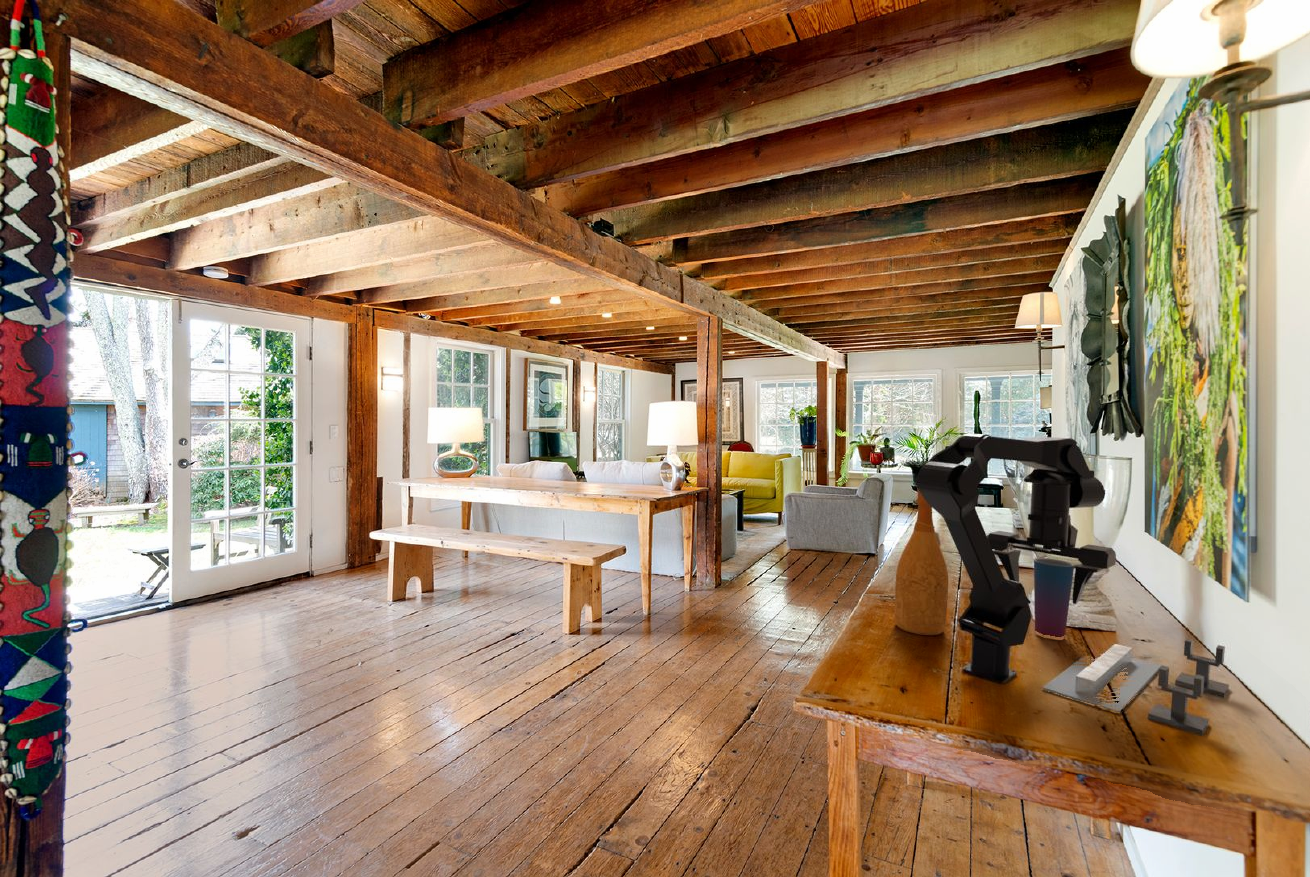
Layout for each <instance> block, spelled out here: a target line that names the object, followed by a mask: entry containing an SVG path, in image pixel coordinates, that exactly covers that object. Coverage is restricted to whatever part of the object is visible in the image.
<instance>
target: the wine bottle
mask: <svg viewBox="0 0 1310 877" xmlns="http://www.w3.org/2000/svg"><path fill="white" fill-rule="evenodd" d="M916 489H917V497H916V504H917V505H918V506H917V516H916V521H915V523H914V527H913V532H912V534H911V536H910V538H909V540H907V543H906V545H905V547H904V549H903V550H902V552H901V554H900V558H899V560H898V564H897V566H896V567H897V568H896V571H895V572H896V573H895V586H894V622H895V625H896V626H897V627H898V628H900V629H901V630H903V631H906V632H908V633H912V634H915V635H921V636H937V635H941V634H942V633H943V632H944V631H945V629H946V621H947V614H948V613H947V611H948V600H949V599H948V597H949V596H948V595H949V572H948V567H947V564H946V560H945V556H944V553H943V551H942V549H941V546H942V544H941V538H940V534H939V532H938V531H935V526H934V522H933V508H932V507H931V506H930V505H929V504H928V503H927V502H926V500H925V499H924V497H923V496H922V494H921V493H920V491H919V490H918V488H917V487H916Z"/></svg>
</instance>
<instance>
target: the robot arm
mask: <svg viewBox="0 0 1310 877" xmlns="http://www.w3.org/2000/svg"><path fill="white" fill-rule="evenodd" d="M1077 444H1078V442H1077V441H1076V440H1075V439H1074V438H1069V437H1068V438H1067V437H1051V436H1048V437H1047V436H1034V437H1027V438H1024V439H1015V438H1009V437H999V436H992V435H990V434H986V433H985V434H981V433H964V434H961V435H960V436H959V437H957V439H956V440H955V441H954V442H953V443H952V444H950V445H948V446H947V447H945V448H944V449H942V450H941V451H938V452H936V453H935V454H934V455H932V457H930V459H929V460H928V461H927V462H926V463H924V464H923V465H922V466H921V468H920V469H919V471H918V473H917V476H916V479H915V482H916V484H915V485H916V489H917V488H918V490H919V491H920V493H921V494H922V496H923V497H924V499H925V500H926V502H927V503H928V504H929V505H930V506H931V507H932V510H934V511H936V512H937V513H938V514H939V515H940V516H941V517H942V518H943V520H944V522H945V525H946V527H947V529H948V531H949V533H950V536H951V538H952V540H953V544H954V545H955V548H956V550H957V552H958V554H959V556H960V558H961V559H960V560H961V561H962V564H963V566H964V568H965V571H966V573H967V575H968V576H969V579H970V581H971V583H972V588H971V590H970V593H969V595H968V599H969V605H968V606H967V608H966V609H965V610H964V611H963V613H962V614H961V615H960V617H959V618H958V623H959V624H958V626H959V628H960V630H961V631H962V632H966V633H969V634H971V646H970V647H971V649H970V650H971V651H970V652H971V653H970V663H968V664H966V665H965V666H962V669H961V670H962V672H965V673H967V674H970V675H974V676H978V677H979V678H983V679H986V680H989V681H992V682H994V683H999V684H1004V683H1006V682H1008V681H1009V680H1011V679H1012V678H1014V677H1016V675H1017V674H1018V673H1017V671H1016V670H1014V669H1011V668H1010V660H1011V657H1010V656H1011V647H1015V646H1016V647H1017V646H1020V645H1021V646H1022V645H1024V644H1025V641H1026V637H1027V633H1028V630H1029V627H1030V624H1031V619H1032V613H1031V607H1030V605H1029V604H1031V603H1032V602H1031V600H1030V599H1029V597H1028V596H1027V593H1026V590H1025V587H1024V585H1023V584H1022V583H1021V582H1020V562H1019V561H1020V558H1021V556H1020V555H1021V551H1022V550H1023V551H1030V552H1036V553H1043V554H1046V555H1053V556H1059V557H1064V558H1065V557H1066V558H1071V559H1072V558H1073V559H1077V560H1078V562H1080V564H1078V565H1076V566H1075V568H1074V578H1073V579H1074V580H1073V587H1072V588H1073V589H1072V597H1071V598H1072V604H1073V605H1076V604H1078V602H1079V600H1080V599H1081V597H1082V594H1083V592H1084V590H1085V588H1086V586H1087V585H1088V583H1089V580H1090V579H1091V578H1092V576H1093V575H1094V573H1099V572H1101V571H1103V570H1105V569H1106V570H1108V569H1109V568H1111V567H1112V568H1113V566H1116V564H1117V554H1116V551H1115V549H1113V547H1108V546H1100V545H1094V544H1086V545H1082V546H1081V547H1076V545H1077V538H1078V534H1079V533H1078V531H1079V530H1078V529H1077V528H1076V527H1075V526H1074V525H1072V523H1071V522H1072V521H1071V520H1072V519H1071V515H1070V509H1075V508H1077V509H1078V508H1080V509H1081V508H1094V507H1097V506H1099V505H1100V504H1102V503H1103V501H1104V499H1105V497H1106V489H1104V485H1103V483H1102V482H1101V481H1100V480H1099V478H1096V477H1095V470H1093V469H1090V468H1089V466H1088V463H1087V461H1086V459H1085V457H1084V455H1083V452H1082V449H1081V448H1080V446H1078V445H1077ZM967 459H972V460H971V461H970V462H969V463H968V465H964V464H962V463H963V462H965V460H967ZM992 459H994V460H1006V461H1017V462H1019V463H1021V464H1022V465H1024V466H1026V467H1029V468H1032V469H1033V470H1032V471H1031V473H1029V474H1027V475H1026V476H1025V477H1024V479H1023V482H1024V483H1029V484H1030V483H1031V491H1030V492H1031V493H1030V495H1031V496H1030V497H1031V498H1030V512H1029V513H1028V514H1027V520H1028V521H1029V529H1028V530H1029V531H1028V536H1027V537H1026V539H1024V538H1021V537H1020V534H1019V533H1015V532H1010V531H1002V530H998V531H997V530H996V531H993V532H992V531H991V532H990V533H988V534H987V533H986V530H985V529H984V526H983V524H982V522H981V519H980V517H979V515H978V513H977V509H976V506H977V503H978V499H979V497H980V490H979V487H978V486H979V485H980V484H981V482H982V481H983V480H984V479H985V478H986V477H987V474H988V466H989V464H988V463H989V462H990V460H992ZM918 490H917V491H918ZM1041 546H1042V547H1041ZM996 556H997V557H998V559H999V561H1000V563H1001V565H1002V566H1003V568H1004V570H1005V573H1006V575H1007V577H1008V578H1005V575H1004V573H1003V571H1002V568H1001V567H1000V565H999V562H998V560H997V557H996ZM984 623H985V624H988V625H990V626H992V627H995V628H999V629H1001V630H998V629H995V628H992V627H989V626H987V625H985V624H984Z"/></svg>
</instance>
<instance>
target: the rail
mask: <svg viewBox="0 0 1310 877" xmlns="http://www.w3.org/2000/svg"><path fill="white" fill-rule="evenodd" d="M1105 651H1106V652H1105V653H1103V654H1102V655H1101V656H1100V657H1098V658H1097V659H1096V660H1095V661H1094V662H1092V663H1091V664H1090V665H1089V666H1087V667H1086V668H1085V669H1084V670H1082V671H1081V672H1080V673H1079V674H1078V675H1076V682H1075V692H1078V693H1081V694H1085V695H1088V696H1091V697H1095V696H1096V695H1097V694H1098V693H1099V692H1100V691H1101V690H1102V689H1103V688H1104V687H1105V686H1106V685H1107V684H1108V683H1109V682H1110V681H1111V680H1113V678H1114V677H1115V676H1117V675H1118V673H1120V672H1121V671H1122V670H1123V669H1124V668H1125V667H1127V666H1128V665H1129V664H1130V663H1131V662H1132V658H1133V647H1131V646H1130V647H1129V646H1126V645H1121V644H1118V643H1115V644H1113V645H1112V646H1111V647H1109V648H1108V649H1107V650H1105Z"/></svg>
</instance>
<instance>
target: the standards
mask: <svg viewBox="0 0 1310 877" xmlns="http://www.w3.org/2000/svg"><path fill="white" fill-rule="evenodd" d="M1183 649H1184V650H1183V656H1184V657H1186V660H1189V661H1193V662H1196V664H1195V665H1196V667H1195V675H1193V674H1189V673H1186V672H1183V671H1182V672H1180V673H1179V675H1178V676H1177V677H1176V678H1175V680H1174V685H1173V684H1169V673H1170V667H1169V666H1165V665H1162V666H1161V667H1160V668H1159V671H1158V680H1157V686H1158V687H1161V691H1163V692H1164V691H1165V692H1168V693H1171V705H1170V707H1169V706H1165V705H1162V704H1158V703H1155V704H1154V706H1153V707H1152V708H1151V710H1150V711H1149V712H1147V719H1148V720H1151V721H1154V722H1157V723H1160V724H1164V725H1167V726H1170V727H1172V728H1176V729H1180V730H1183V731H1186V732H1189V733H1191V734H1196V735H1198V736H1204V734H1205V732H1206V730H1207V728H1208V727H1209V725H1210V719H1209V718H1206V717H1202V716H1199V715H1195V714H1193V713H1192V714H1191V713H1189V712H1187V708H1188V699H1192V700H1198V699H1199V698H1201V697H1202V696H1203V695H1204V694H1209V695H1211V696H1212V695H1213V696H1216V697H1218V698H1223V699H1225V697H1226V695H1227V693H1228V691H1229V690H1230V689H1229V688H1230V684H1229V683H1224V682H1220V681H1217V680H1213V679H1210V674H1211V673H1210V672H1211V671H1210V669H1211V666H1213V667H1217V668H1219V667H1220V666H1221V665H1223V664H1224V663H1225V649H1226V647H1225V646H1224V645H1218V644H1217V646H1216V649H1215V659H1214V658H1209V657H1205V656H1201V655H1197V654H1193V653H1194V652H1193V650H1194V639H1192V638H1188V637H1187V638H1186V639H1184V646H1183Z"/></svg>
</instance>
